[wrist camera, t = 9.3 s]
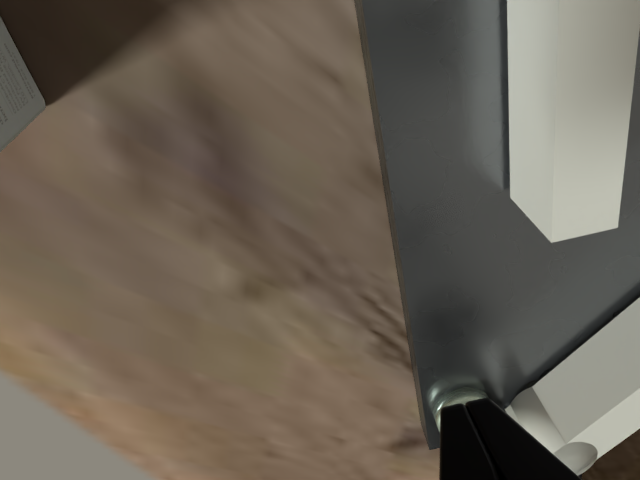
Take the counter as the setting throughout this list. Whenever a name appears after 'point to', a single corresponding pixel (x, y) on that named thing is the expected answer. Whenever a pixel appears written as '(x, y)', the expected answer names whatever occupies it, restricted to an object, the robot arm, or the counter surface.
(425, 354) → the levelling base
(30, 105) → the skincare box
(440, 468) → the robot arm
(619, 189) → the off-white long bar
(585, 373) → the white rectangular block
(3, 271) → the counter surface
